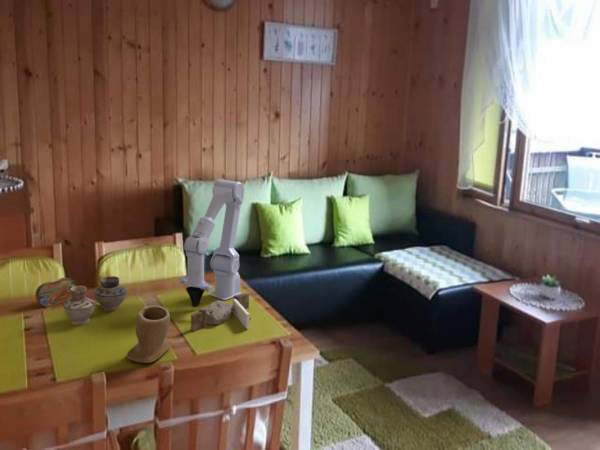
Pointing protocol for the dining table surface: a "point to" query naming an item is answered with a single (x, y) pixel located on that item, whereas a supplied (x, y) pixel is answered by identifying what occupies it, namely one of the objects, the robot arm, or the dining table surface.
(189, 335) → the dining table surface
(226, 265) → the robot arm
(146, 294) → the dining table surface
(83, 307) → the pottery
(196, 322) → the wooden plank
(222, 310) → the stone
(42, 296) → the tin
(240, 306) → the door
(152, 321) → the stone cup
